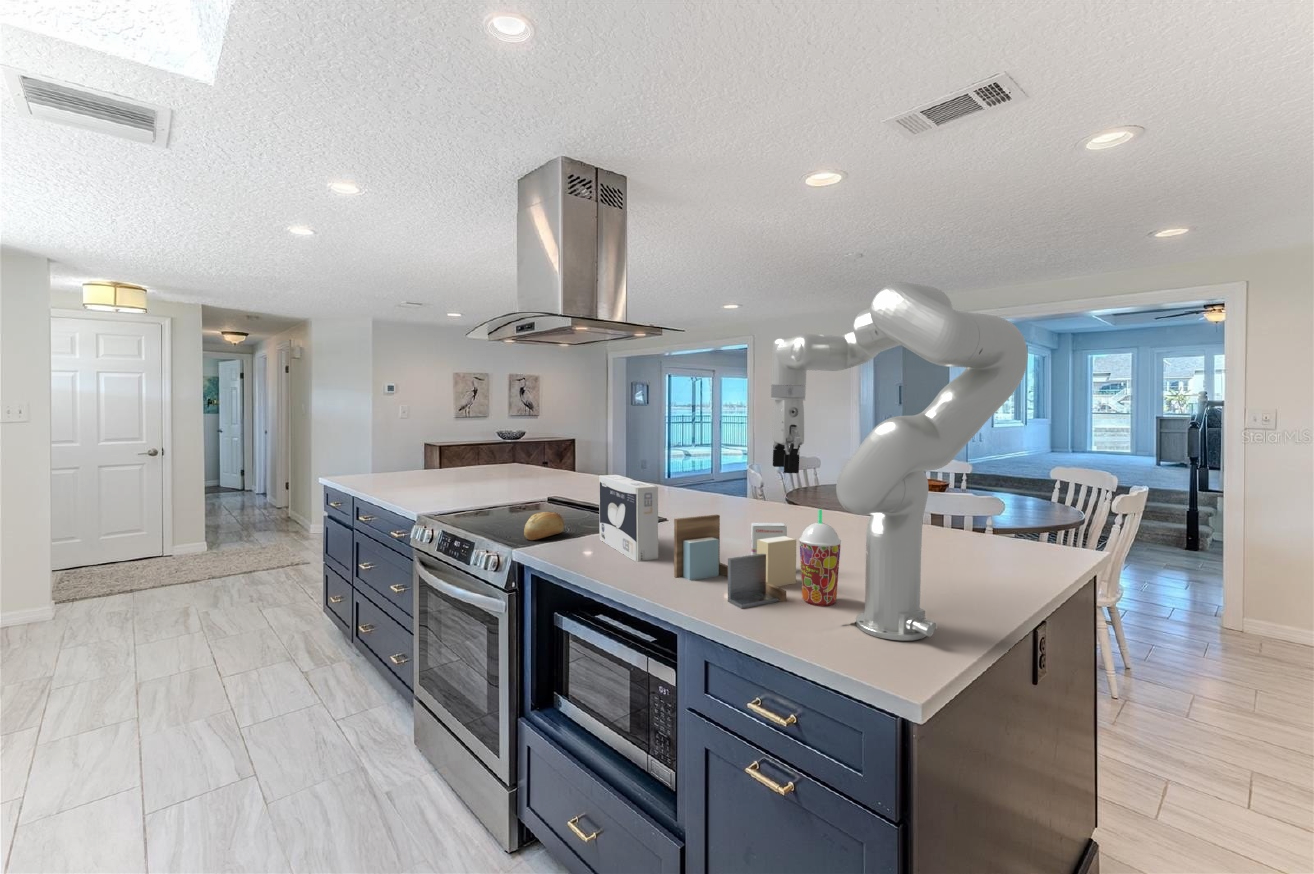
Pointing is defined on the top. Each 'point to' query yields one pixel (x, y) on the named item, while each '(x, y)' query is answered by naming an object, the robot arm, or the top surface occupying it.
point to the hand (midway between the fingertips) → (785, 469)
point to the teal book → (700, 558)
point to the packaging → (629, 516)
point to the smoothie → (819, 563)
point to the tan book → (779, 559)
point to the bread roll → (543, 525)
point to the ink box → (765, 533)
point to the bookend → (748, 581)
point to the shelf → (705, 529)
